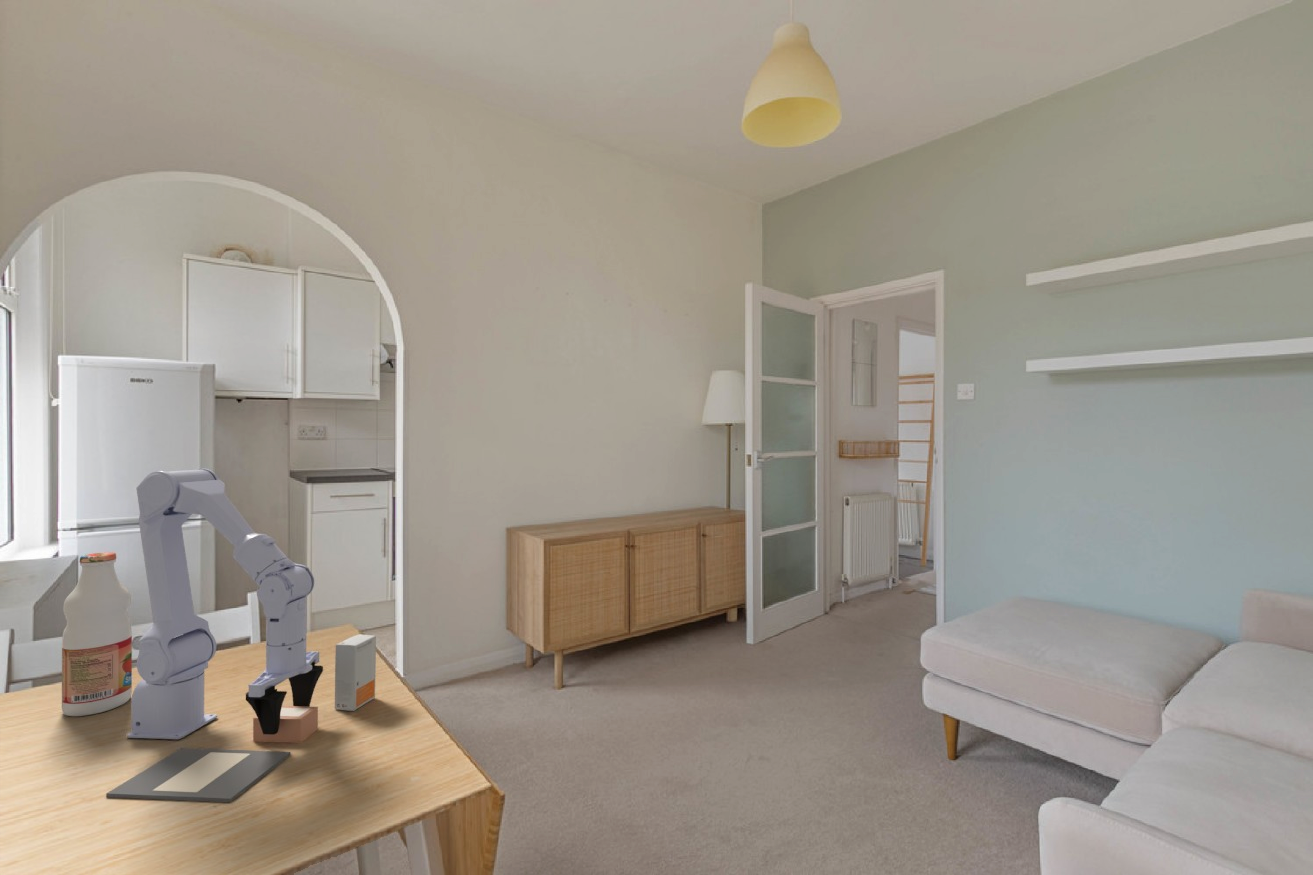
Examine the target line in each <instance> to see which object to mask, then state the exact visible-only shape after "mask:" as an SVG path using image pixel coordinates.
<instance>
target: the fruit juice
mask: <svg viewBox="0 0 1313 875" xmlns="http://www.w3.org/2000/svg"><path fill="white" fill-rule="evenodd" d="M116 561H117V554H116V553H115V552H114V551H113V552H109V551H107V552H95V553H93V552H92V553H87V554H83V555H80V556H79V563H80V564H79V566H81V573H80V576H79V578H78V582H77V583H76V585H75V587H74V588H73V590H72V591H71V592H70V593H69V594H68V595H67V597H66V598H65V599H64V601H63V609H62V611H63V614H64V616H65V620H66V626H65V628H64V629H63V633H62V640H61V710H62V713H63V715H65V716H68V717H84V716H91V715H96V714H101V713H104V712H107V711H111V710H113V709H116V708H118V707H120V706H123V705H124V704H126V703H127V702H129V701H130V699H131V698H132V693H133V692H132V689H133V688H132V685H133V683H132V681H133V680H132V679H133V678H132V677H133V676H132V675H133V673H132V670H133V668H132V662H133V658H132V657H133V654H132V653H133V650H132V649H133V646H132V645H133V644H132V643H133V631H132V630H133V628H132V627H133V626H132V620H131V619H130V617H129V615H128V614H129V612H128V611H129V609H130V605H131V603H132V602H131V601H132V596H131V592H130V590H129V589H128V588H127V587H126V586H125V585H124V584H122V583H121V581H120V579H119V578H118V575H117V573H116V570H115V563H116Z"/></svg>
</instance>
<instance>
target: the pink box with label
mask: <svg viewBox="0 0 1313 875" xmlns="http://www.w3.org/2000/svg"><path fill="white" fill-rule="evenodd" d="M318 709H319V706H310V707H307V706H293V705H282V707H281V713H280V724H279V730H278V733H276V734H274V735H271V734H263V732H262V729H261V726H260V723H259V720H258V717H257V715H256V716H254V717H253V718H252V721H253V722H252V725H253V726H252V732H253V733H252V735H253V736H252V737H253V738H252V741H253V742H264V743H266V742H269V743H296V744H297V743H300V744H301V743H303V741H305V740H306V739H307V738H309V737H310V736H312V734H314V733H315V732H316V731H318V728H319V720H318V718H319V715H318V714H319V713H318V712H319V711H318Z"/></svg>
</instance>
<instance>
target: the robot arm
mask: <svg viewBox="0 0 1313 875" xmlns="http://www.w3.org/2000/svg"><path fill="white" fill-rule="evenodd" d="M136 495H137V502H138V509H139V516H138V525H139V532H140V538H141V539H140V540H141V547H142V553H143V561H144V567H145V573H146V574H145V575H146V580H147V588H148V594H149V601H150V608H151V614H152V615H151V616H152V621H153V622H152V625H151V626H150V627H149V628H148V629H147V631H145V633H144V634H143V635H142V636H141V637H140V638H139V640H138V646H139V647H138V648H139V649H138V651H139V652H138V655H137V659H136V669H137V672H138V675H139V677H141V680H140V681H139V682H138V683H137V684H136V686H135V688H134V689H133V692H132V693H131V704H130V705H131V709H130V710H131V711H130V712H131V717H130V718H131V723H130V726H131V727H130V728H131V730H130V732H129V733H127V734H126V738H129V739H130V738H131V739H155V740H158V739H160V740H180V739H183V738H185V737H186V736H188V735H190V734H191V733H193V732H195V731H196V730H198V729H200V728H202V727H204V726H205V725H207V724H209V723H210V722H212V721H214V720H215V719H217V718H218V714H215V713H205V670H206V669H208V667H209V662H210V661H211V660H212V659H213V658H214V656H215V654H216V653H217V652H216V651H217V641H216V639H215V637H214V635H213V634H212V632H211V629H210V625H209V621H208V620H207V619H205V618H203V617H201V616H198V615H196V613H195V611H194V603H193V596H192V588H191V583H190V575H189V568H188V560H187V555H186V547H185V542H184V541H185V540H184V535H183V524H184V523H185V522H186V521H187V520H188V519H189V518H190V517H191V516H192V515H199V516H202V517H203V518H204V519H205V520H206V521H208V523H209V524H210V525H211V526H212V527H213V528H214V529H215V530H217V532H218V533H220V535H222V536H223V537H224V538H225V539H226V540H227V541H228V542H229V543H230V544H231V545H233V546H234V548H233V552H232V557H233V559H234V560H235V561H236V562H237V563H238V564H239V566H241V568H242V569H243V570H244V571H245V572H246V573H247V575H248V576H249V577H250V578H251V579H252V580H253V581H254V582H255V583H256V584H257V586H258V587H259V588H257V589H256V597H257V599H258V601H259V602H260V604H261V605H262V608H263V615H264V617H265V639H266V640H265V659H266V660H265V669H264V670H263V671H262V672H261V673H260V675H259V676H258V677H256V679H255V680H253V682H251V683H249V684H248V691H247V692H246V693H245V701H246V703H248V704H249V705H250V708H252V709H253V711H254V714H255V715H256V716H257V717H258V720H259V723H260V726H261V729H262V732H263V734H271V735H274V734H276V733H278V730H279V724H280V713H281V707H282V706H283V703H284V700H285V698H286V695H287V694H288V691H286V690H283V691H281V690H278V688H276V686H277V685H279V684H281V683H284V681H286V680H287V679H288V682H289V685H290V688H291V694H292V706H307V707H311V702H312V698H313V694H314V692H315V689H316V685H317V683H318V681H319V679H320V677H321V676H322V674H323V672H324V667H323V665H317V664H318V663H320V651H315V650H314V651H313V650H308V651H307V597H308V596H309V595H310V594H311V593H312V591H313V589H314V587H315V577H314V576H313V573H312V571H311V570H310V568H309V567H308V566H306V565H304V564H302V563H301V564H300V563H296V562H295V561H292V560H291V558H288V557H287V556H286V554H285V553H284V552H283V551H282V550H281V549H280V548H279V547H278V545H277V544H276V539H274V537H273V536H268V534H266V533H257V532H255V531H254V530H253V529H252V527H251V525H249V523H248V522H247V520H245V518H244V516H242V514H241V513H240V511H239V510H238V509H237V507H236V506H235V505H234V503H233V502H232V501H231V500H230V498H229V497H228V496H227V495H226V484H225V482H224V481H222V480H221V479H220V478H219V476H218V474H217V473H216V472H214V471H213V470H211V469H208V468H198V469H191V470H190V469H188V470H173V471H165V470H164V471H163V470H157V471H152V472H150V473H149V474H147V476H145V478H144V479H143V480H142V481H141V482H140V483H139V485H138V486H137V487H136Z"/></svg>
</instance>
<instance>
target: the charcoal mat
mask: <svg viewBox="0 0 1313 875" xmlns="http://www.w3.org/2000/svg"><path fill="white" fill-rule="evenodd" d="M291 753H292V752H291V751H281V750H280V751H278V750H277V751H276V750H273V751H272V750H253V749H252V750H247V749H246V750H245V749H244V750H242V749H221V748H219V749H218V748H217V749H216V748H191V747H189V748H187V747H180V748H179V749H177V750H176V751H174V752H172V753H171V754H169V755H166V757H164V758H162V759H160V760H159V761H157V762H156V763H154V764H153V765H151V766H149V767H148V768H145V769H144V770H142V771H141V772H139V773H138V774H136V775H134V776H133V777H131V778H130V779H128V780H126V781H125V782H123V783H122V784H119V785H118V786H117V787H115V788H112V789H111V790H110V791H108V792H106V795H105V797H106V798H117V799H118V798H119V799H120V798H121V799H139V800H140V799H142V800H143V799H144V800H145V799H146V800H165V801H167V800H168V801H169V800H171V801H187V802H189V801H191V802H192V801H194V802H216V803H232V802H233V801H234V800H235V799H236V798H238V797H239V796H241V795H242V794H243V793H245V792H246V791H247V790H248V789H250V788H251V787H252V786H253V785H255V784H256V783H257V782H259V781H260V780H261V779H263V777H264V776H267V774H269V773H270V772H272V770H274V769H275V768H276V767H278V765H280V764H281V763H283V761H285V760H287V759H288V758H290V756H291Z"/></svg>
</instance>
